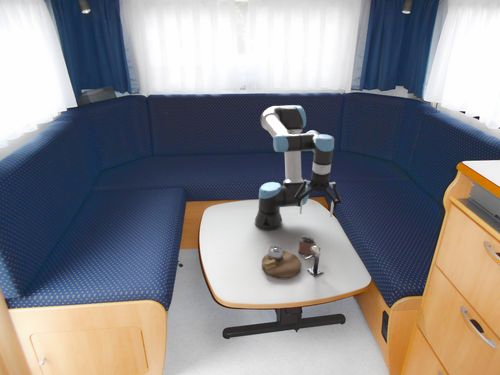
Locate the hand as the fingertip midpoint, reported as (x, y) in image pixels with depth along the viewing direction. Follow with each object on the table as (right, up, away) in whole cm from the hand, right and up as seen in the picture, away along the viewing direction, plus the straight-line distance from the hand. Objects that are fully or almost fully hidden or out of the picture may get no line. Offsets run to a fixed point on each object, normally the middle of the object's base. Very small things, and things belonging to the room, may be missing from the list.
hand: (315, 214), depth 157 cm
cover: (-18, -21, +6) cm, 28 cm away
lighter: (-2, -21, +12) cm, 24 cm away
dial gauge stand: (-2, -27, 0) cm, 27 cm away
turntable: (-15, -25, +3) cm, 29 cm away
